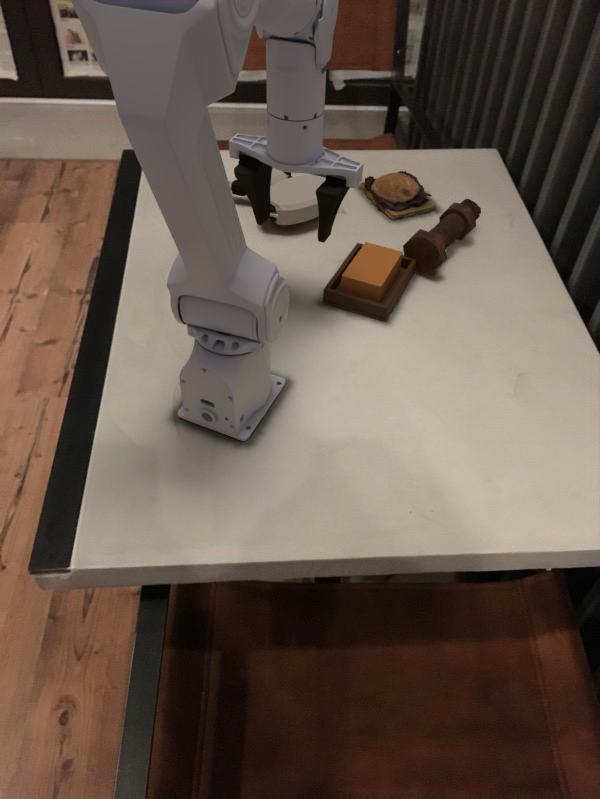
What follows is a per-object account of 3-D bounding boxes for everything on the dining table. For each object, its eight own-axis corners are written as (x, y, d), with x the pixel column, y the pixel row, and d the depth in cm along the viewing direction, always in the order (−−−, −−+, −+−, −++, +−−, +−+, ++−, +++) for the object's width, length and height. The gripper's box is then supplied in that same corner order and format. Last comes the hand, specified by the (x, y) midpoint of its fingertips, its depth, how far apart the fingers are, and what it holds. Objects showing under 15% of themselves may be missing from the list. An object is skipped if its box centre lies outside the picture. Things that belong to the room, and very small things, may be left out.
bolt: (470, 234, 97) (421, 282, 88) (446, 208, 97) (394, 254, 88) (498, 208, 92) (450, 256, 83) (472, 181, 92) (421, 226, 83)
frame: (385, 321, 81) (387, 308, 80) (322, 302, 83) (323, 289, 82) (415, 271, 88) (417, 258, 87) (356, 255, 90) (357, 242, 89)
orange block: (378, 306, 82) (380, 286, 80) (339, 295, 84) (341, 275, 81) (399, 271, 87) (403, 251, 85) (363, 261, 89) (365, 241, 86)
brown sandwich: (440, 211, 99) (444, 188, 96) (388, 222, 96) (392, 198, 94) (404, 176, 105) (407, 153, 103) (355, 186, 103) (357, 163, 100)
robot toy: (218, 204, 100) (280, 244, 91) (215, 174, 97) (279, 212, 88) (285, 179, 105) (349, 214, 97) (284, 150, 102) (350, 184, 94)
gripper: (378, 108, 68) (365, 227, 78) (249, 80, 72) (252, 197, 82) (352, 136, 64) (342, 259, 73) (216, 105, 68) (223, 226, 77)
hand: (293, 229), depth 77 cm, fingers open, 7 cm apart
